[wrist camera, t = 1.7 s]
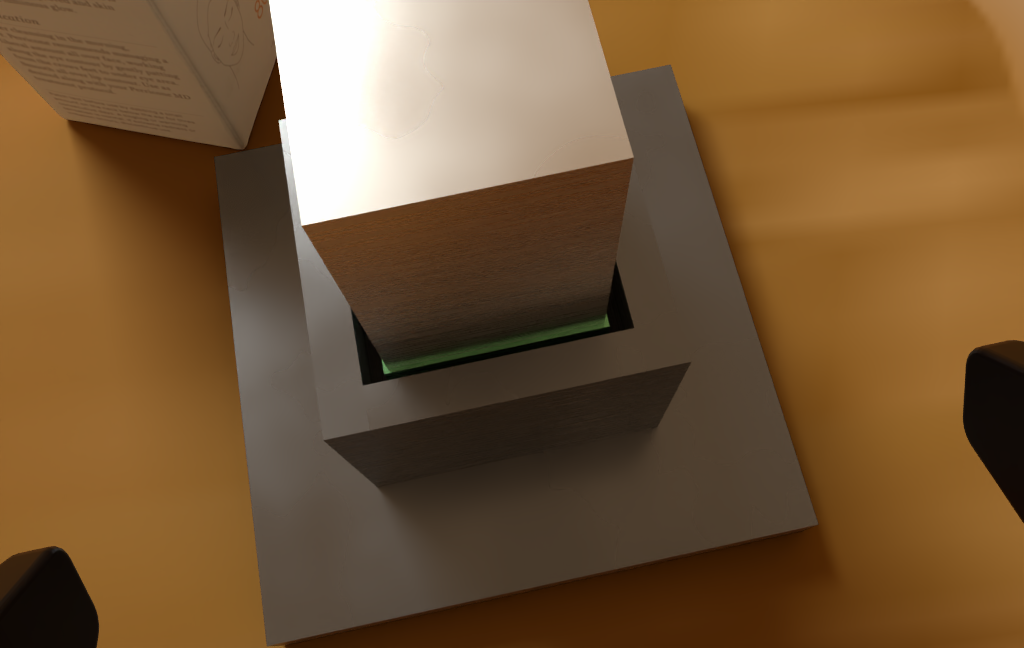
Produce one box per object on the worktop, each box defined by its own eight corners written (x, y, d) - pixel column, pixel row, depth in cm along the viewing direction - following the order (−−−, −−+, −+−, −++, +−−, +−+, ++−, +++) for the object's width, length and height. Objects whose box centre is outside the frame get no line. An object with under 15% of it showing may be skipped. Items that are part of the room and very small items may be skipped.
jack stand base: (803, 530, 20) (907, 488, 14) (282, 645, 20) (170, 649, 14) (664, 91, 24) (702, -83, 18) (230, 180, 24) (126, 31, 18)
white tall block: (597, 386, 20) (642, 161, 10) (416, 425, 20) (295, 233, 10) (556, 223, 21) (563, -106, 12) (386, 258, 21) (256, -46, 12)
